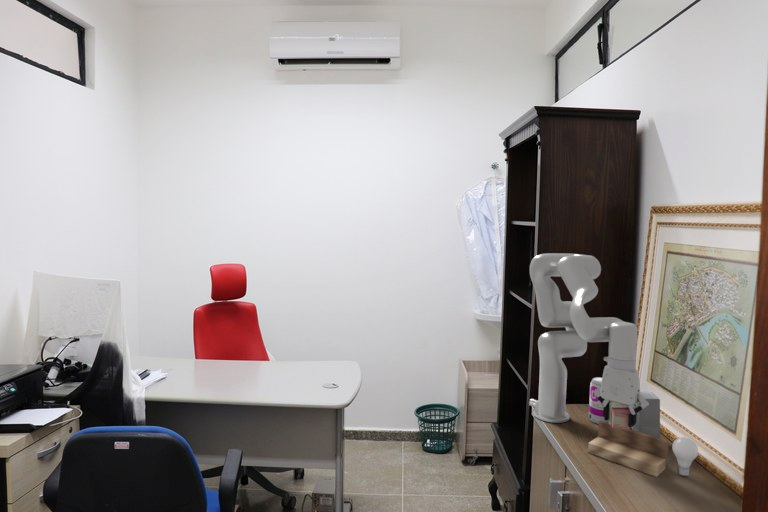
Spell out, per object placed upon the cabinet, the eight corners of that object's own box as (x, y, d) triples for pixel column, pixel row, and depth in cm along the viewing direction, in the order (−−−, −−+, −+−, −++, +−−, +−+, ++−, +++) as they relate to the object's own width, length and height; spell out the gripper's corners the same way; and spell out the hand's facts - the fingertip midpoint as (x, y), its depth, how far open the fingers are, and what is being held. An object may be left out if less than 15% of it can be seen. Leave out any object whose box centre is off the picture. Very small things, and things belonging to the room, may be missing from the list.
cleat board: (587, 452, 159) (589, 427, 158) (599, 444, 164) (600, 420, 164) (656, 476, 144) (658, 449, 144) (667, 467, 150) (668, 440, 149)
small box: (612, 428, 151) (613, 402, 150) (608, 423, 155) (609, 397, 154) (630, 429, 150) (631, 403, 150) (625, 424, 154) (626, 398, 154)
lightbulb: (666, 469, 148) (668, 433, 148) (688, 470, 148) (690, 433, 147) (677, 480, 142) (680, 442, 141) (701, 481, 142) (703, 443, 141)
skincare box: (660, 448, 162) (663, 400, 161) (636, 445, 164) (639, 398, 163) (652, 437, 171) (655, 391, 169) (629, 435, 172) (632, 389, 171)
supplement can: (602, 427, 178) (604, 385, 177) (583, 418, 185) (585, 378, 184) (618, 423, 182) (620, 382, 181) (599, 415, 189) (601, 375, 188)
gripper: (587, 360, 155) (585, 417, 156) (648, 372, 143) (645, 435, 144) (598, 356, 160) (596, 411, 161) (657, 367, 148) (654, 428, 149)
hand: (619, 422), depth 152 cm, fingers closed on small box, 6 cm apart
